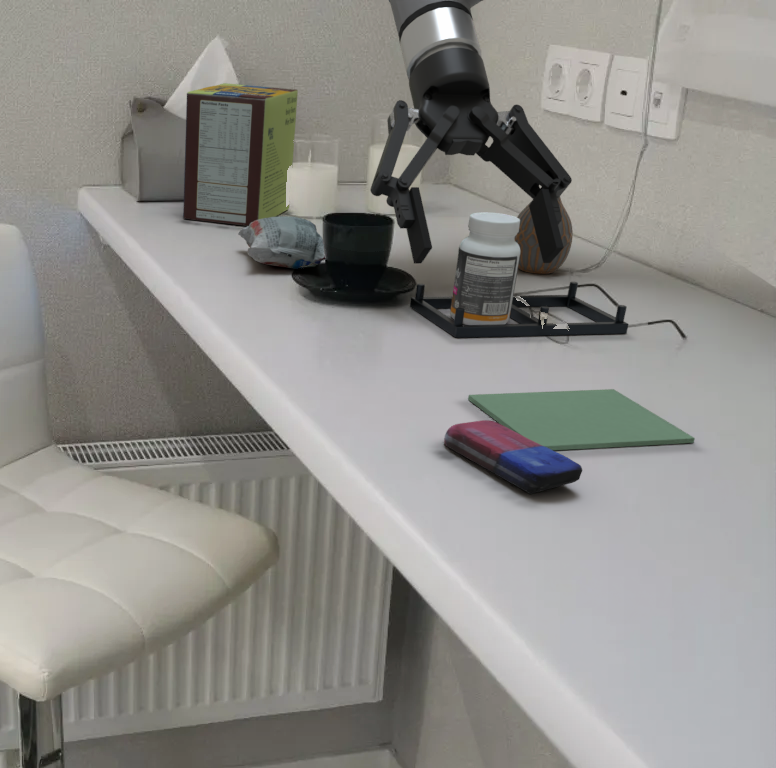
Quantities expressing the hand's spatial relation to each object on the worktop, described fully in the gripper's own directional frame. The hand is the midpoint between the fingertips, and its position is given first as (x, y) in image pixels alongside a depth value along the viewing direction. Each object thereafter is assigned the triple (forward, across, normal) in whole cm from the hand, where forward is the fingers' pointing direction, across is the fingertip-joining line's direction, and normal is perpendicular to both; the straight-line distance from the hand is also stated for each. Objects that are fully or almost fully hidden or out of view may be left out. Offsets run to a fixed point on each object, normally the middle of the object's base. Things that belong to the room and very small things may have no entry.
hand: (489, 256), depth 110 cm
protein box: (-32, +10, -42) cm, 54 cm away
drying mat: (+23, +5, +14) cm, 28 cm away
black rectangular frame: (+4, -4, -5) cm, 8 cm away
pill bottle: (+4, 0, -5) cm, 7 cm away
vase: (-10, -17, -19) cm, 27 cm away
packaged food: (-12, +13, -22) cm, 28 cm away
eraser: (+29, +15, +20) cm, 38 cm away
